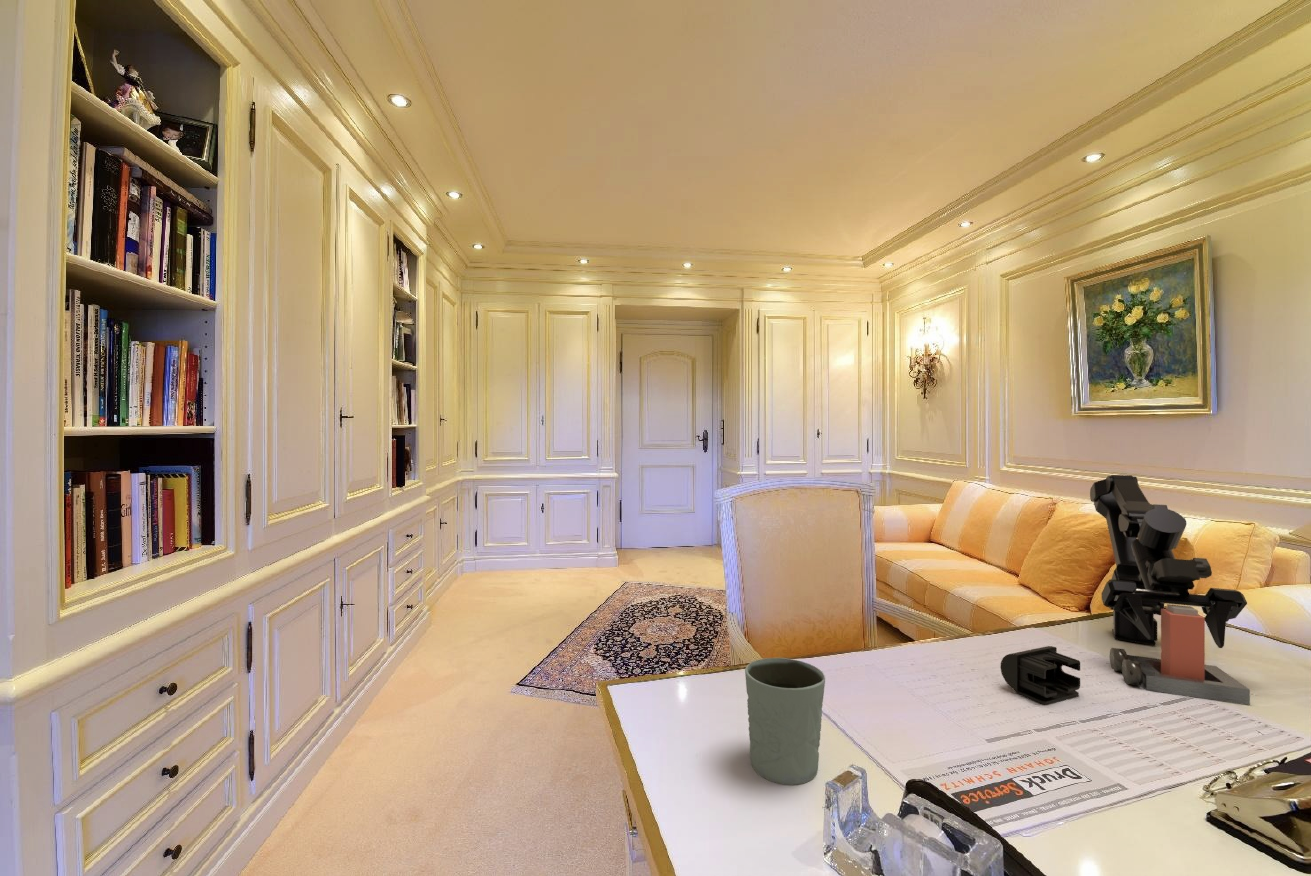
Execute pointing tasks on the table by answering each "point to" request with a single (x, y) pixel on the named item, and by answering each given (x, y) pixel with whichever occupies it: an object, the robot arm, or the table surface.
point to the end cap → (1041, 675)
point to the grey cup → (784, 718)
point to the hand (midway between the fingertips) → (1185, 642)
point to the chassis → (1178, 679)
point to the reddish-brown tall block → (1182, 642)
